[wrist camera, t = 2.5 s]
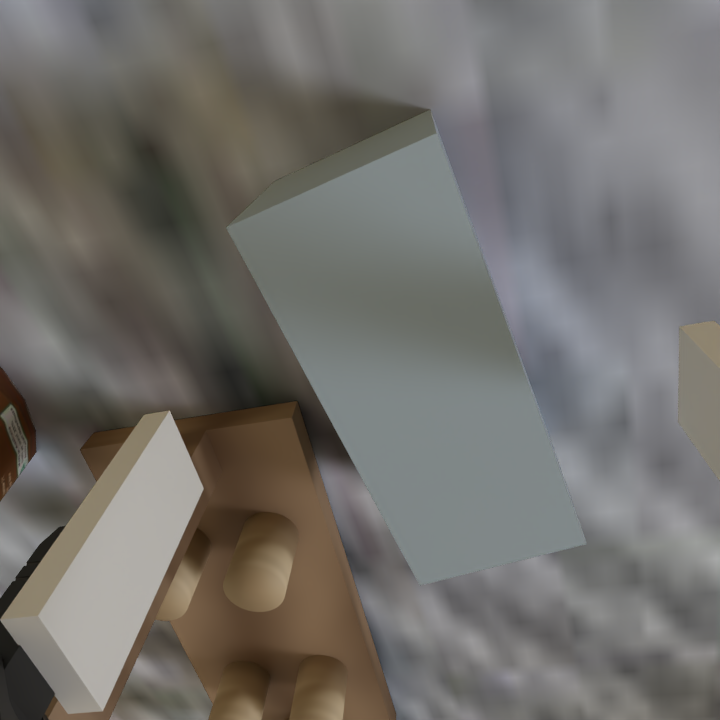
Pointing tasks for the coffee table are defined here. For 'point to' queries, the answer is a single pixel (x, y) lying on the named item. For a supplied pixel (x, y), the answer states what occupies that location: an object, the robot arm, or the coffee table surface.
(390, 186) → the shelf board
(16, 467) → the food container
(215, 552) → the peg stand
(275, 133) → the coffee table surface
